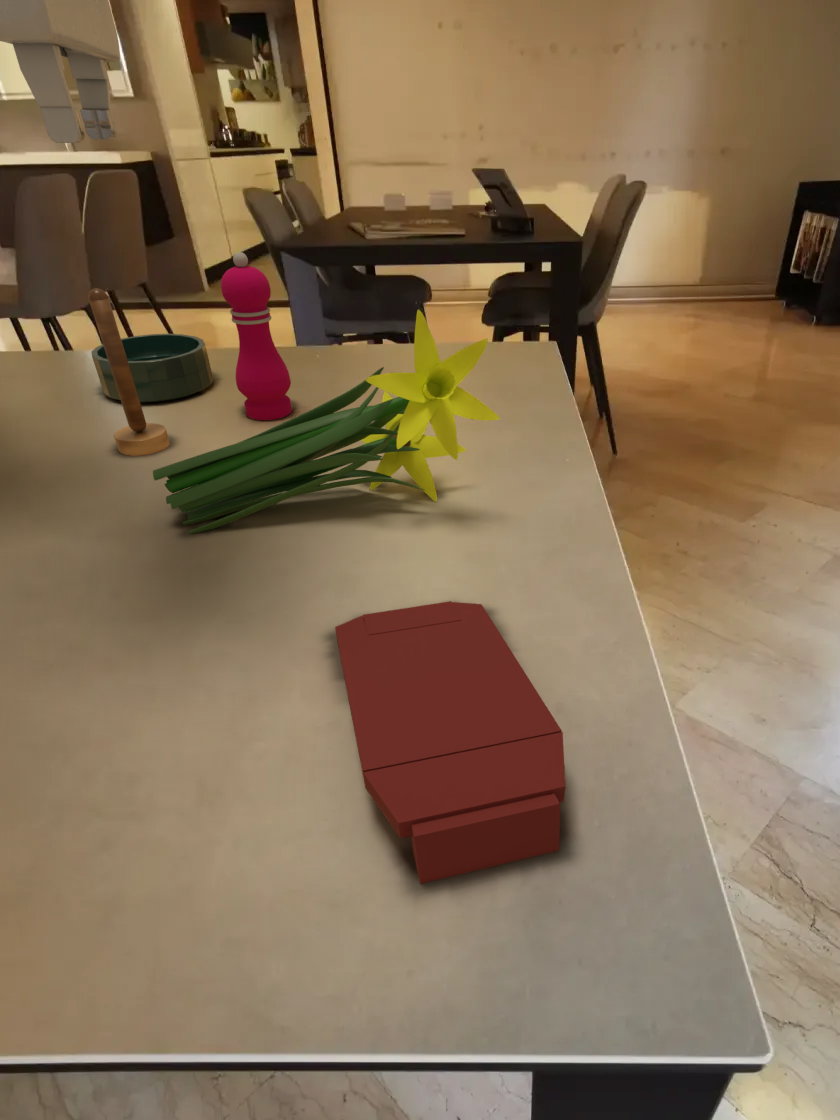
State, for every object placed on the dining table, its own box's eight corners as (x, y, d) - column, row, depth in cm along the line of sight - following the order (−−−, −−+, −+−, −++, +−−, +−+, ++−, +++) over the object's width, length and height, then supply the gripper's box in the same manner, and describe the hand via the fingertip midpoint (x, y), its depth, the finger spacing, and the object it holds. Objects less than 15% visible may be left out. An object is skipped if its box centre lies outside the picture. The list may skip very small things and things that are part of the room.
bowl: (82, 395, 104) (67, 353, 101) (165, 367, 115) (155, 329, 111) (154, 412, 98) (142, 368, 95) (235, 382, 109) (226, 341, 106)
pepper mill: (232, 418, 97) (196, 255, 84) (260, 402, 102) (230, 246, 90) (278, 424, 95) (248, 258, 83) (305, 407, 100) (280, 248, 88)
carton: (342, 670, 59) (384, 896, 38) (333, 619, 57) (374, 830, 36) (479, 647, 62) (591, 847, 41) (477, 597, 59) (594, 781, 38)
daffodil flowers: (199, 486, 81) (480, 385, 82) (225, 596, 77) (523, 488, 77) (110, 394, 65) (461, 268, 66) (137, 526, 61) (514, 390, 61)
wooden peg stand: (109, 454, 87) (53, 290, 75) (148, 438, 91) (100, 281, 79) (142, 464, 84) (89, 296, 73) (181, 447, 88) (137, 286, 77)
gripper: (7, -116, 47) (77, 138, 55) (-148, -239, 31) (-17, 144, 39) (107, -110, 48) (161, 138, 56) (7, -225, 32) (103, 145, 40)
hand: (87, 141), depth 48 cm, fingers open, 8 cm apart
